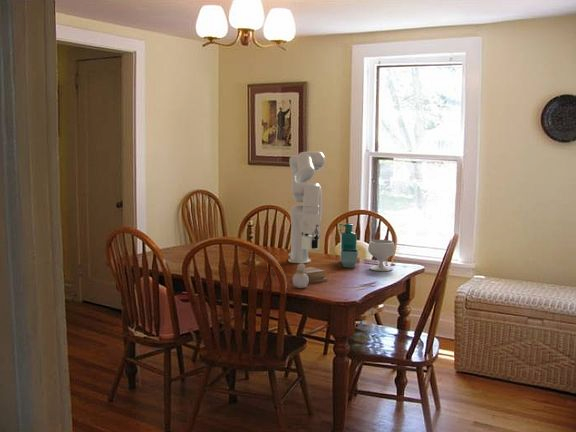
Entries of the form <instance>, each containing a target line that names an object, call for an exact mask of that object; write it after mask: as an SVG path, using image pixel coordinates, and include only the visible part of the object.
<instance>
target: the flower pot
mask: <svg viewBox="0 0 576 432" xmlns="http://www.w3.org/2000/svg"><path fill="white" fill-rule="evenodd" d="M358 256H359V249H357V250H356V249H342V250H341V261H342V263H341V264H342V266H343V268H349V269H350V268H354V267H355V266H356V263H357V260H358ZM341 261H340V262H341Z"/></svg>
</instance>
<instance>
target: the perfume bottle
mask: <svg viewBox="0 0 576 432" xmlns="http://www.w3.org/2000/svg"><path fill="white" fill-rule="evenodd" d="M305 268H306V265H305V263H301V262H300V263H298V264H297V268H296V269H298V271H297V273H296V274H295V273H294V274H293V276H292V277H293V279H291V281H292V284H293V286H294V287H296V288H297V289H304V288H306V287H307V286H308V285H309V284H308V282H309V278H308V276H307V275H306V274H305V273H304V270H305Z"/></svg>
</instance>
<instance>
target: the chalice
mask: <svg viewBox="0 0 576 432" xmlns="http://www.w3.org/2000/svg"><path fill="white" fill-rule="evenodd" d="M395 246H396V245H395V243H394V241H392V240H388V239H372V240H370V242H369V244H368V247H367V248H368V249H367V251H368V253H369V255H371V256H372V257H374V258H375V259H377V260H378V262H379V264H378V265H374V266H373V265H372V266H370V267H369V270H371V271H376V272H390V271H393V269H394V268H392V267H390V266H385V265H384V261H385V260H386V259H388V258H390V257H392V256H393V255H394V254H395V252H396V247H395Z"/></svg>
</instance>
